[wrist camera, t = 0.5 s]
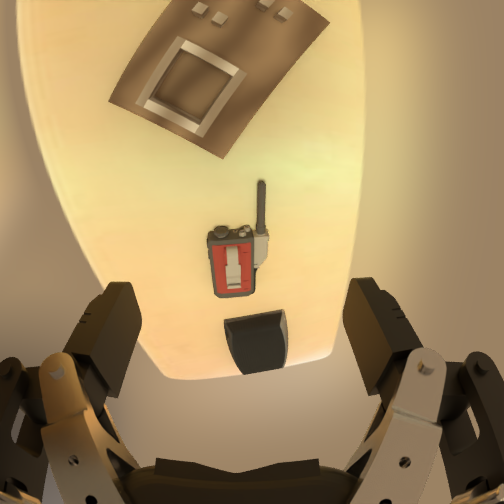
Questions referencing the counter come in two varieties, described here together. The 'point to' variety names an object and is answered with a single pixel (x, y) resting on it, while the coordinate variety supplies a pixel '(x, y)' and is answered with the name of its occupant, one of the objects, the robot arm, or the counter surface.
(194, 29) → the board
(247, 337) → the external hard drive
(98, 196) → the counter surface
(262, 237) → the walkie-talkie
